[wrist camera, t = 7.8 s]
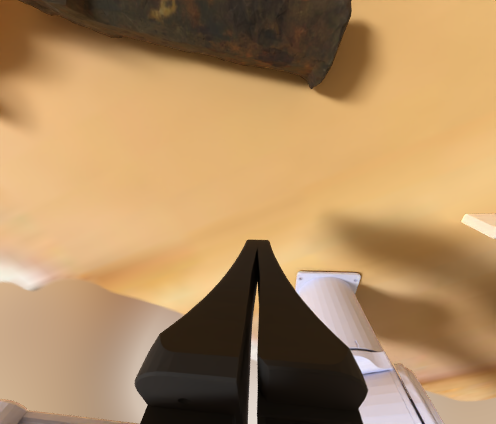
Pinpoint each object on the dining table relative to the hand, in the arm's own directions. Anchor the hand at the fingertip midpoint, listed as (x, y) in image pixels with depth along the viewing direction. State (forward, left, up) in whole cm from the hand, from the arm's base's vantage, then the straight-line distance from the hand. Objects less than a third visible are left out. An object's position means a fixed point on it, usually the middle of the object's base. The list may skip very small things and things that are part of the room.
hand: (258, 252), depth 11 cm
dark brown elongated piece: (+13, +6, -10) cm, 18 cm away
